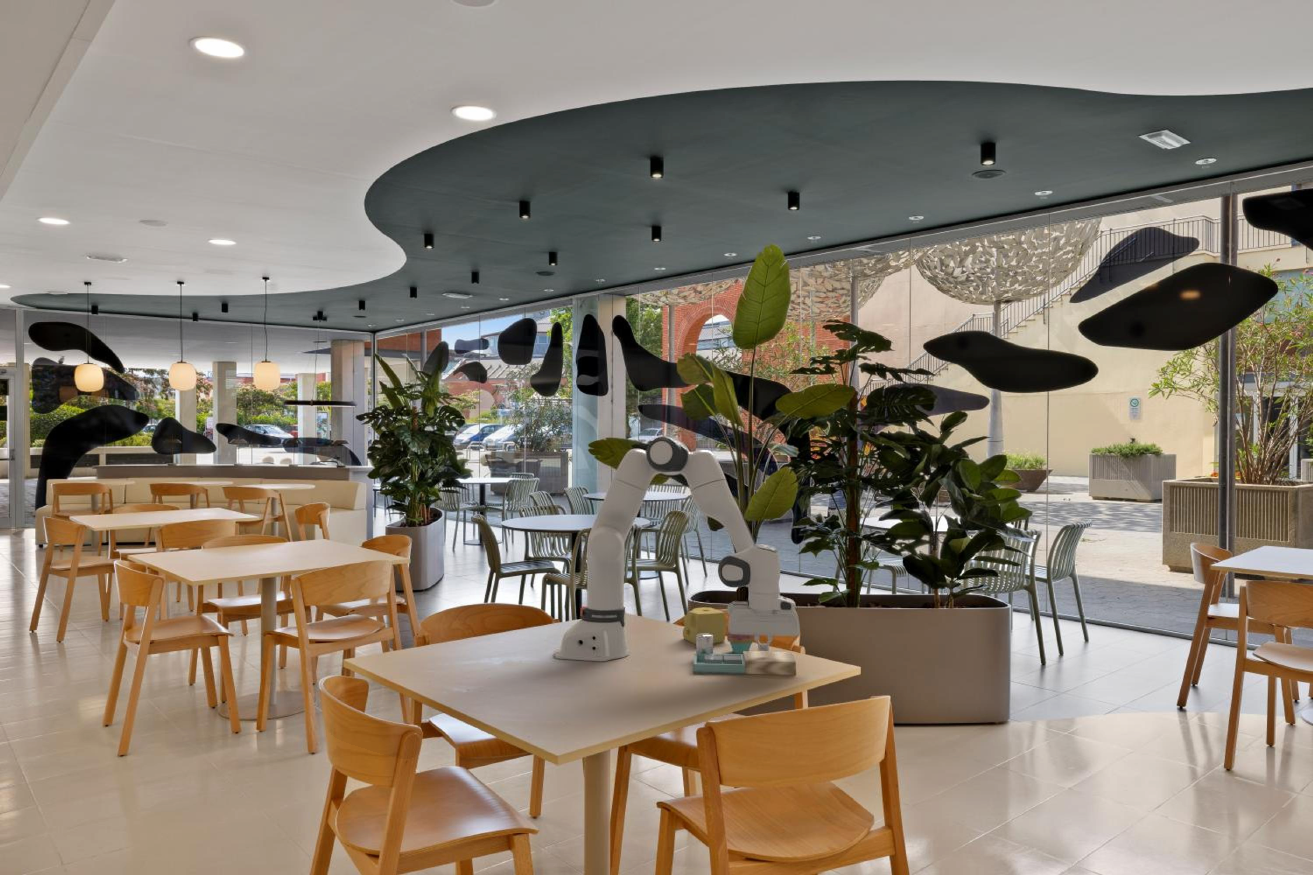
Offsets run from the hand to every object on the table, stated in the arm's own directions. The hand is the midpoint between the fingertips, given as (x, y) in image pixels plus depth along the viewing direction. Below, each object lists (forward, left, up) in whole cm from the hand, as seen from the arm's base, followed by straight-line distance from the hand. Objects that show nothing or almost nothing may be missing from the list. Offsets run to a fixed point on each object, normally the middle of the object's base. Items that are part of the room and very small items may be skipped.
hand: (763, 650), depth 257 cm
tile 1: (-14, 0, -2) cm, 14 cm away
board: (+2, 0, -5) cm, 5 cm away
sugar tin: (-17, +11, -5) cm, 21 cm away
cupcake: (-6, +20, -5) cm, 22 cm away
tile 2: (-9, 0, -5) cm, 10 cm away
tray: (-12, 0, -5) cm, 14 cm away
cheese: (-17, +35, -6) cm, 39 cm away
